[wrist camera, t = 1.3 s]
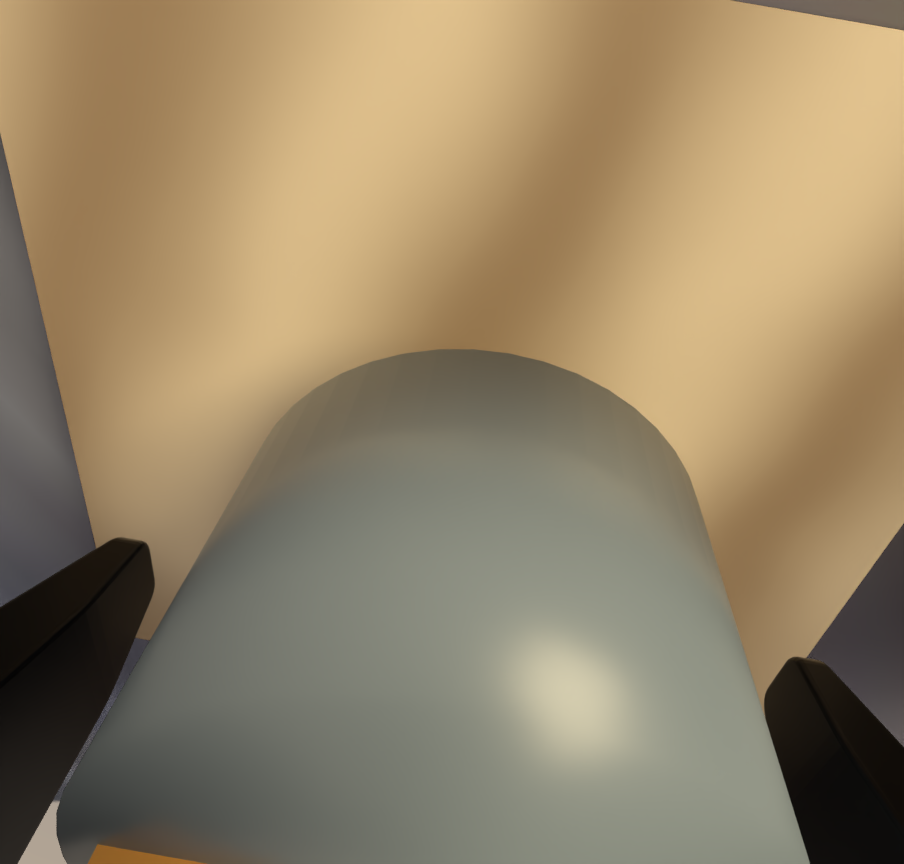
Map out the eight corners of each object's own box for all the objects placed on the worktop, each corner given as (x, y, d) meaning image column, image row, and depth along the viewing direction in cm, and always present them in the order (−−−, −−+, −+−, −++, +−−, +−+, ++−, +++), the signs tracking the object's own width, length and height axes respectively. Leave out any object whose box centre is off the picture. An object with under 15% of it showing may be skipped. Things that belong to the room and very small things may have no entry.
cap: (782, 401, 8) (1032, 837, 4) (623, 714, 12) (669, 1099, 8) (237, 305, 8) (-63, 644, 4) (253, 649, 12) (108, 999, 8)
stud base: (1131, 70, 9) (1425, 119, 6) (728, 692, 18) (769, 842, 15) (15, -124, 9) (-239, -171, 6) (144, 589, 18) (63, 718, 15)
